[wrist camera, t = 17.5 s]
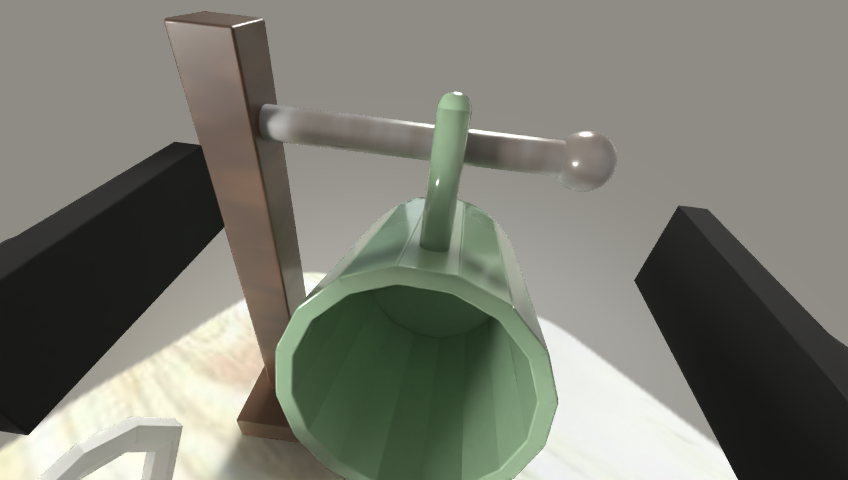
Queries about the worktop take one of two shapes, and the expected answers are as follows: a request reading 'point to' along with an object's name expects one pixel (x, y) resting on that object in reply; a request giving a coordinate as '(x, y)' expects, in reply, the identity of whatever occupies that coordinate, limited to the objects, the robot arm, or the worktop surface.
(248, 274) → the mug tree
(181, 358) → the worktop surface
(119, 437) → the mug
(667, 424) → the worktop surface
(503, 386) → the sage mug
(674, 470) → the worktop surface
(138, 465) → the worktop surface
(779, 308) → the robot arm
